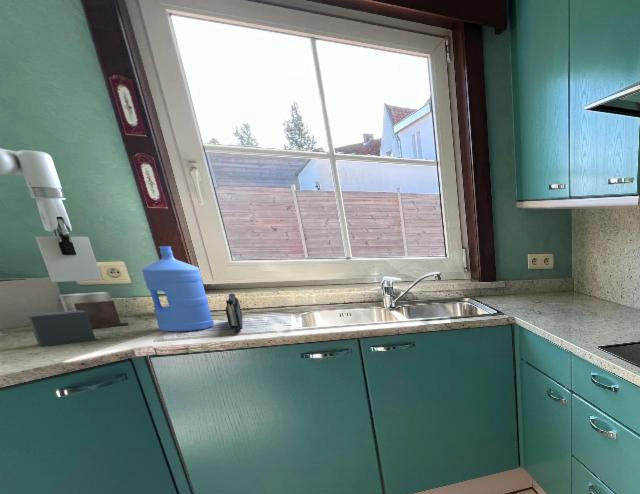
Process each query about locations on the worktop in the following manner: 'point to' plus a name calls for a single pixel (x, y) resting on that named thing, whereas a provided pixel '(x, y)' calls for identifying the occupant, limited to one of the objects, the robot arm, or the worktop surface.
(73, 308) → the book rack
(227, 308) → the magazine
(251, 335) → the worktop surface
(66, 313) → the dark grey rectangular block
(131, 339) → the worktop surface
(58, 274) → the white book
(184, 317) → the water jug
